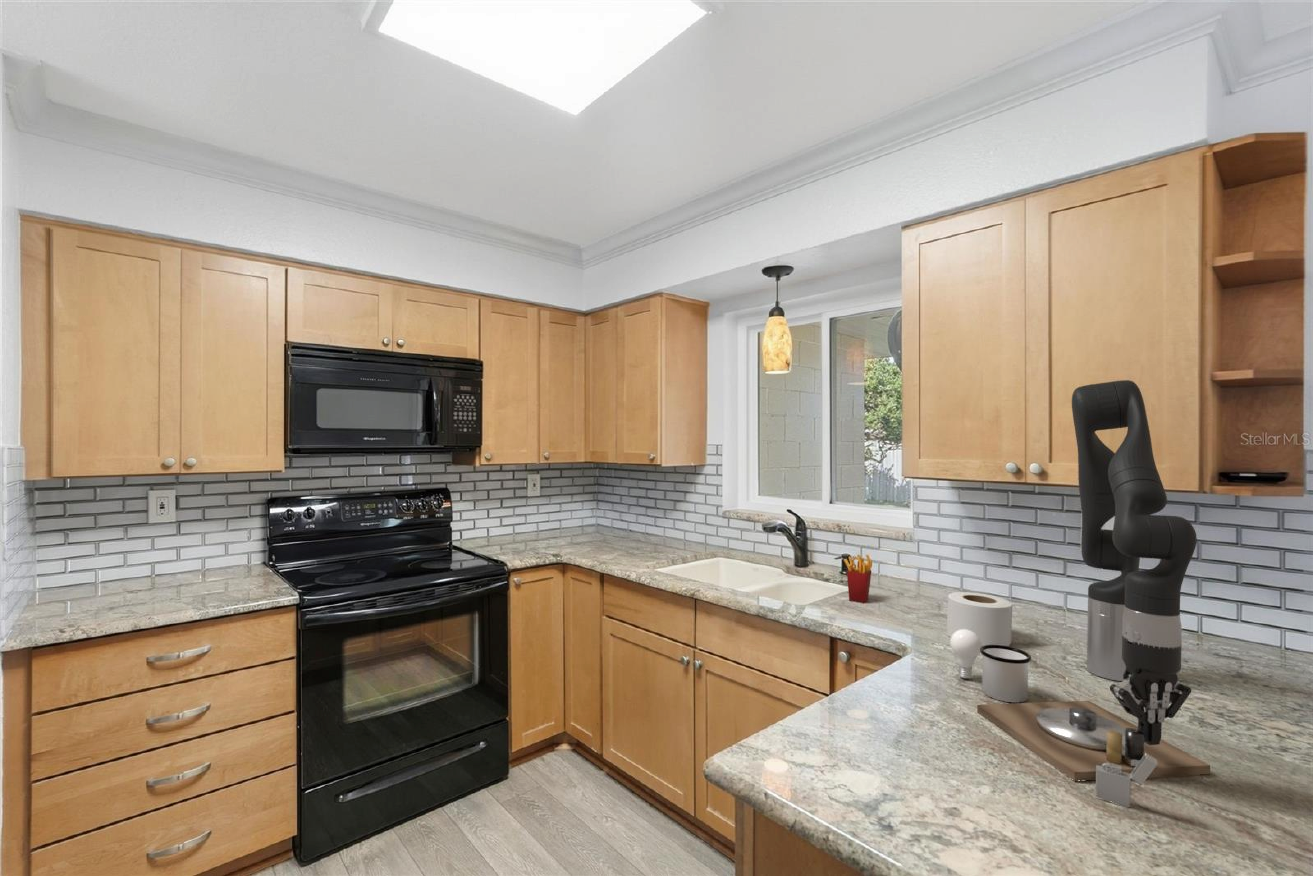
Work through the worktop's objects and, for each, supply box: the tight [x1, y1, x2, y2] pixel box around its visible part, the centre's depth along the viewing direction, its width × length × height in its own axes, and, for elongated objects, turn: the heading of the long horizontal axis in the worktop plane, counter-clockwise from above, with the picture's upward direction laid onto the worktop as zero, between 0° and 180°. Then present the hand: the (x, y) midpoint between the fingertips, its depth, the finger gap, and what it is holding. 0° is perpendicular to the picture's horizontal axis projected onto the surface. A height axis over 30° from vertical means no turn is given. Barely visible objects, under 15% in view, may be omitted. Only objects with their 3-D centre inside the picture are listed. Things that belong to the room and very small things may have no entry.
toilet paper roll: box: [946, 591, 1013, 647], centre depth 165 cm, size 16×15×11 cm
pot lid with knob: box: [1037, 707, 1144, 766], centre depth 107 cm, size 19×14×5 cm
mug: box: [980, 645, 1032, 704], centre depth 129 cm, size 12×10×9 cm
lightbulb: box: [949, 629, 982, 680], centre depth 136 cm, size 6×6×11 cm
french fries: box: [843, 554, 873, 604], centre depth 202 cm, size 9×8×15 cm
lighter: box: [1095, 753, 1157, 808], centre depth 90 cm, size 7×2×8 cm, turn 55°
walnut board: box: [976, 700, 1211, 782], centre depth 109 cm, size 24×24×6 cm
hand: (1149, 742), depth 99 cm, fingers closed
